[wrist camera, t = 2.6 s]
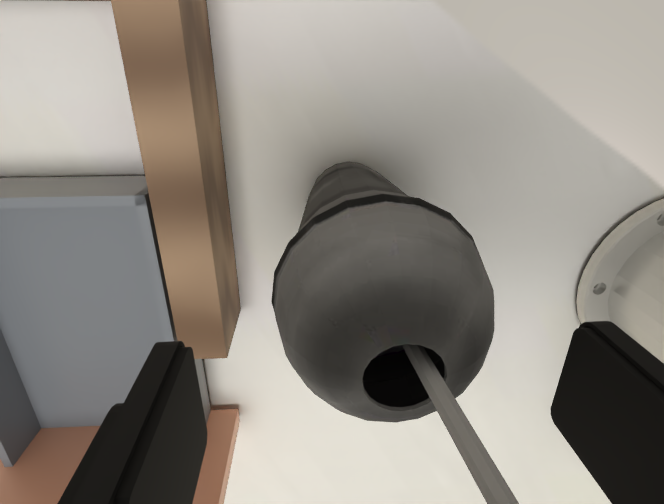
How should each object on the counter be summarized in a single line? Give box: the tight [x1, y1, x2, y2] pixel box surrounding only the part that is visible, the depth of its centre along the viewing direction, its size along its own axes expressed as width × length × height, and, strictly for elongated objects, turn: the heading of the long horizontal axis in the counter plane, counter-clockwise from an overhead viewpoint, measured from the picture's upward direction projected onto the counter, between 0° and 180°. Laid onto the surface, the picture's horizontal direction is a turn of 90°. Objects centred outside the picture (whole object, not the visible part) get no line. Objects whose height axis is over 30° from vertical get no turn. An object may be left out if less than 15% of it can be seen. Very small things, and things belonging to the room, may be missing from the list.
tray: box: [0, 176, 240, 504], centre depth 22 cm, size 19×16×8 cm
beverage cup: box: [272, 162, 519, 504], centre depth 15 cm, size 7×7×20 cm
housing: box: [65, 0, 241, 359], centre depth 20 cm, size 20×18×5 cm
